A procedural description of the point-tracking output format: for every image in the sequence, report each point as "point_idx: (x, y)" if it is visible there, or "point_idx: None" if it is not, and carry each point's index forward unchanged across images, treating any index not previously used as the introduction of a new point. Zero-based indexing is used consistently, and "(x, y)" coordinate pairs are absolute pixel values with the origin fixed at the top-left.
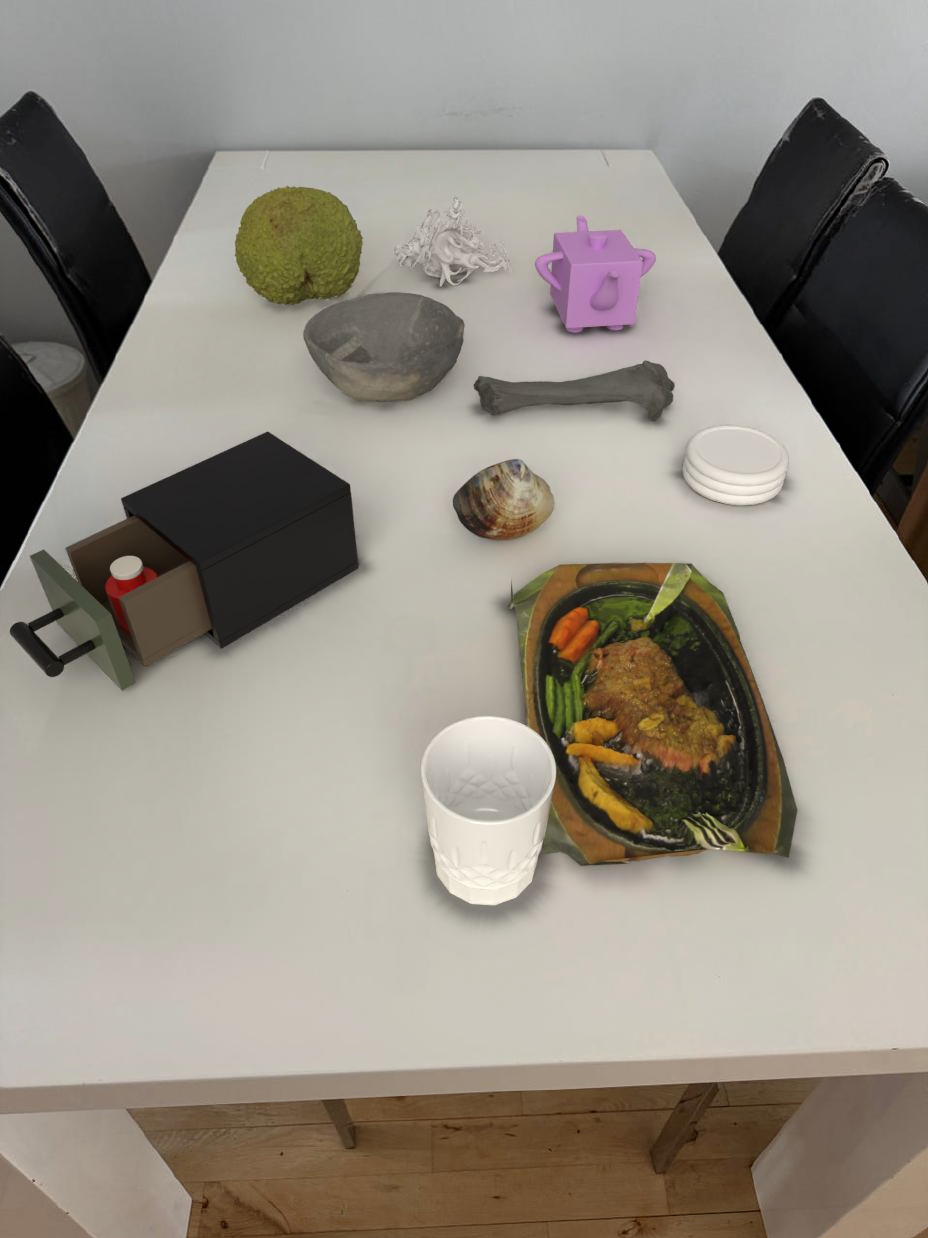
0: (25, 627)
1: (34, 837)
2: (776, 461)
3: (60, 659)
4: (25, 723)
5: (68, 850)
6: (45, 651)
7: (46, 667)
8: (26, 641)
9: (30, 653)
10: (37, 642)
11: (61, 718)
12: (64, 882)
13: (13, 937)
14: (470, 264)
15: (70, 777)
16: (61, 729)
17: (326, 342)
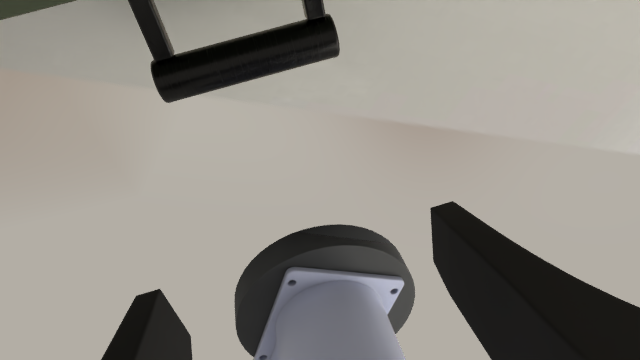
0: (181, 71)
1: (505, 109)
2: None
3: (317, 18)
4: (307, 87)
5: (553, 75)
6: (294, 46)
7: (337, 53)
8: (234, 77)
9: (268, 74)
10: (253, 57)
11: None
12: (585, 89)
13: (595, 145)
14: None
15: (451, 47)
16: (352, 38)
17: None
